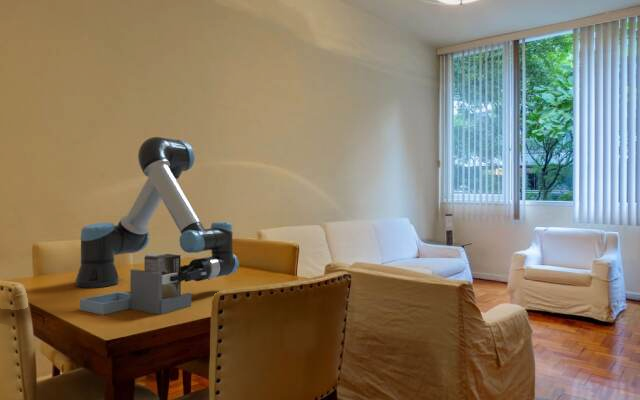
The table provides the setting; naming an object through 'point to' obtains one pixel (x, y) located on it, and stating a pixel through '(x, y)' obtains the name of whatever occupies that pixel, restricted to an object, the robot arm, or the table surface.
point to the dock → (153, 294)
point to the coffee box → (166, 271)
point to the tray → (106, 303)
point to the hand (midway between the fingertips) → (150, 278)
